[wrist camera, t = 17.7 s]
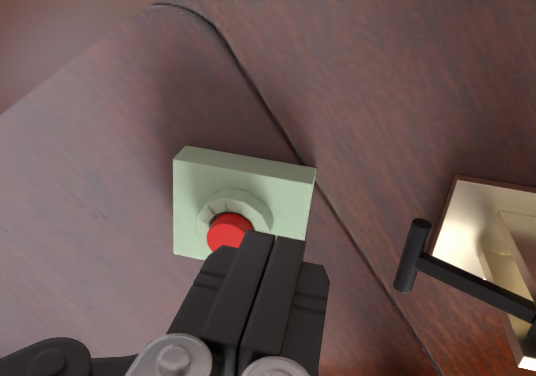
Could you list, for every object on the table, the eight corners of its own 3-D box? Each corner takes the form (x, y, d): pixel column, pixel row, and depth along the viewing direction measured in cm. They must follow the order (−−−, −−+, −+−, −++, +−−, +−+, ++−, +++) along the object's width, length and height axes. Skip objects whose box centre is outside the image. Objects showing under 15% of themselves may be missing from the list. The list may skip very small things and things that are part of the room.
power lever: (399, 275, 36) (387, 290, 34) (419, 213, 33) (406, 225, 32) (566, 358, 30) (562, 381, 28) (608, 291, 27) (605, 311, 25)
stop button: (211, 243, 39) (205, 255, 37) (213, 208, 37) (206, 219, 36) (251, 251, 39) (246, 264, 37) (255, 216, 37) (250, 228, 35)
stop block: (184, 235, 45) (165, 265, 41) (185, 144, 40) (164, 167, 36) (301, 259, 44) (294, 292, 39) (316, 167, 39) (310, 194, 34)
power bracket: (425, 260, 41) (447, 374, 30) (454, 173, 37) (493, 268, 25) (563, 287, 39) (640, 417, 28) (611, 200, 35) (724, 313, 24)
